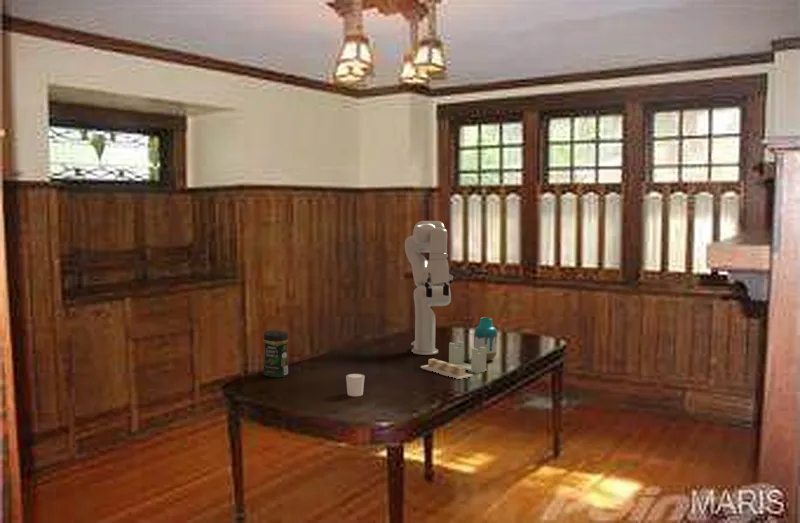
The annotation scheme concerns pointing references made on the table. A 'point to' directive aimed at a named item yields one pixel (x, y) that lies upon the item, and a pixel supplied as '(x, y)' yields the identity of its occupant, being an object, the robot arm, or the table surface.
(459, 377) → the felt mat
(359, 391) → the shot glass
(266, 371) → the coffee jar
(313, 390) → the table surface
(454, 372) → the rail
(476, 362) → the cradle stand
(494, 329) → the vase
